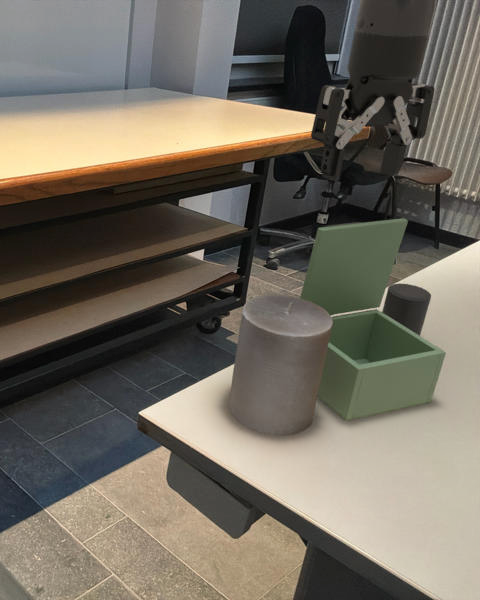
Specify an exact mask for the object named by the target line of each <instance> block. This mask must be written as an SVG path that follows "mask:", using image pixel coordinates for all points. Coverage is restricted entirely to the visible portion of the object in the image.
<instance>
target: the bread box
mask: <svg viewBox="0 0 480 600" xmlns="http://www.w3.org/2000/svg"><path fill="white" fill-rule="evenodd" d="M331 318H332V320H333V325H332V329H331V333H330V338H329V343H328V348H327V353H326V358H325V362H324V367H323V371H322V376H321V381H320V385H319V390H318V395H317V398H319V399H320V400H321V401H322V402H323V403H325V404H326V405H327V406H328V407H329V408H330V409H331V410H333V411H334V412H335V413H336V414H337V415H338V416H340V417H341V418H342V419H343V420H344V421H345V422H349V421H352V420H357V419H363V418H366V417H370V416H376V415H380V414H384V413H388V412H392V411H397V410H403V409H406V408H411V407H416V406H420V405H425V404H429V403H431V402H432V399H433V397H434V394H435V390H436V386H437V383H438V381H439V377H440V374H441V371H442V367H443V363H444V361H445V358H446V354H447V353H446V351H445V350H443V349H442V348H439V347H438V346H437V345H435V344H434V343H432V342H431V341H428V340H427V339H425V338H424V337H422V336H421V335H420V336H419V335H417V334H416V333H414V332H413V331H411V330H409V329H408V328H406V327H405V326H403V325H401V324H400V323H398V322H397V321H395V320H393V319H392V318H390V317H389V316H387V315H385V314H384V313H382V311H381V310H379V309H377V308H374V309H368V310H362V311H355V312H353V313H352V312H349V313H343V314H337V315H331Z"/></svg>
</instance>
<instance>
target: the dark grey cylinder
mask: <svg viewBox="0 0 480 600" xmlns="http://www.w3.org/2000/svg"><path fill="white" fill-rule="evenodd" d="M386 291H387V292H386V295H385V298H384V299H385V300H384V303H383V308H382V311H381V312H382V313H384V314H385V315H387V316H389V317H390V318H392V319H393V320H395V321H397V322H398V323H400V324H401V325H403V326H405V327H406V328H408V329H409V330H411V331H413V332H414V333H416V334H417V335H419V336H421V334H422V330H423V327H424V323H425V320H426V316H427V312H428V309H429V305H430V302H431V299H432V294H431V293H430V292H429V291H428V290H426V288H423V287H420V286H418V285H413V284H408V283H392V284H391V285H389V286H388V288H387V290H386Z"/></svg>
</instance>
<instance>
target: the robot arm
mask: <svg viewBox="0 0 480 600" xmlns="http://www.w3.org/2000/svg"><path fill="white" fill-rule="evenodd" d="M436 7H437V0H360V2H359V6H358V11H357V16H356V21H355V26H354V31H353V36H352V40H351V46H350V52H349V57H348V62H347V67H346V70H347V72H348V76H349V78H348V82H347V83H346V86H345V87H336V86H333V85H328V84H326V85H323V86H322V88H321V90H320V93H319V98H318V102H317V107H316V112H315V115H314V121H313V125H312V129H311V133H310V138H311V139H312V140H314V141H316V142H319V143H322V145H323V146H324V148H323V149H324V150H323V154H322V159H321V165H320V174H321V175H322V177H323V179H326V180H329V181H330V182H336V181H339V180H340V178H341V172H342V166H343V163H344V158H345V152H346V149H345V146H347V144H348V143H349V142H350V141H351V139H352V138H353V136H355V135H357V134H359V133H361V131H362V130H363V129H364V127H365V128H372V127H375V126H377V125H378V126H381V127H383V128H385V131H386V133H387V136H388V139H389V140H390V141H386V144H385V148H384V152H383V156H382V162H381V166H380V172H381V174H383V175H386V176H389V177H397V176H398V175H399V173H400V171H401V169H402V167H403V164H404V161H405V155H406V151H407V148H408V145H410V144H411V143H412V141H414V140H416V139H419V140H421V139H423V138H425V135H426V133H427V130H428V125H429V119H430V114H431V109H432V105H433V100H434V94H435V91H436V90H435V87H434V86H433V85H429V84H425V83H419V82H414V83H413V80H415V79H417V78H418V77H419V76H420V74H421V71H422V67H423V64H424V58H425V54H426V51H427V46H428V43H429V39H430V33H431V29H432V26H433V21H434V17H435V13H436ZM342 107H343V108H342ZM349 119H351V120H349ZM415 123H416V124H415Z"/></svg>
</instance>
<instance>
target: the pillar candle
mask: <svg viewBox="0 0 480 600" xmlns="http://www.w3.org/2000/svg"><path fill="white" fill-rule="evenodd" d="M242 307H243V308H242V311H241V318H240V325H239V332H238V336H237V344H236V352H235V357H234V365H233V370H232V378H231V384H230V385H231V386H230V389H229V397H228V405H227V407H228V410H229V413H230V414H231V416H232V417H233V418H234V419H235V420H236V421H237V422H239V423H240V424H241V425H242V426H244V427H246V428H248V429H251V430H252V431H256V432H258V433H260V434H265V435H271V436H290V435H291V436H292V435H296V434H300V433H301V432H304V431H305V430H307V429H308V428H310V427H311V426H312V424H313V420H314V414H315V409H316V404H317V399H318V396H317V395H318V390H319V385H320V381H321V376H322V371H323V367H324V362H325V358H326V353H327V348H328V343H329V338H330V333H331V329H332V325H333V320H332V318H331V317H332V315H329V313H328V312H327V311H326V310H324V309H323V308H322V307H320V306H318V305H316V304H314V303H312V302H310V301H307V300H304V299H300V297H296V296H291V295H285V294H284V295H283V294H264V295H259V296H256V297H253V298H251V299H249V300H248V301H246V302H245V303H244V305H243V306H242Z"/></svg>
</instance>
